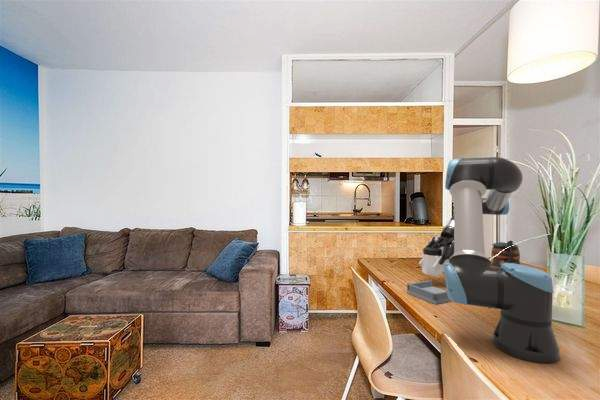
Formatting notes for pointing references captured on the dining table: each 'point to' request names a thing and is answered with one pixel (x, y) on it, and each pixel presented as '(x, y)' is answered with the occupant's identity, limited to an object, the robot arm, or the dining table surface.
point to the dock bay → (428, 292)
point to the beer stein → (504, 254)
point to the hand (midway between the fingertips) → (427, 266)
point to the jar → (431, 261)
